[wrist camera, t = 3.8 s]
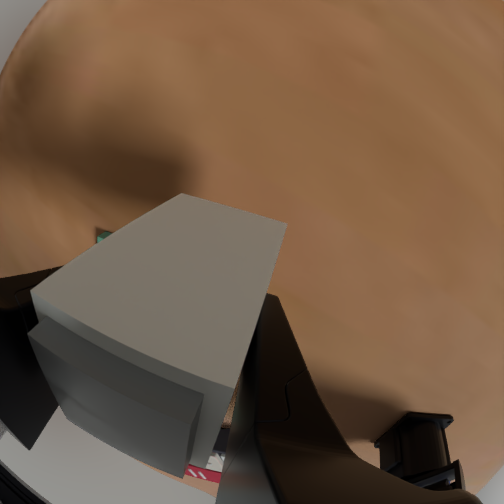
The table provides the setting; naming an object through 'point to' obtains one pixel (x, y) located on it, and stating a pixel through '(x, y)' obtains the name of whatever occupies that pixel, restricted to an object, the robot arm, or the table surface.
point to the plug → (157, 327)
